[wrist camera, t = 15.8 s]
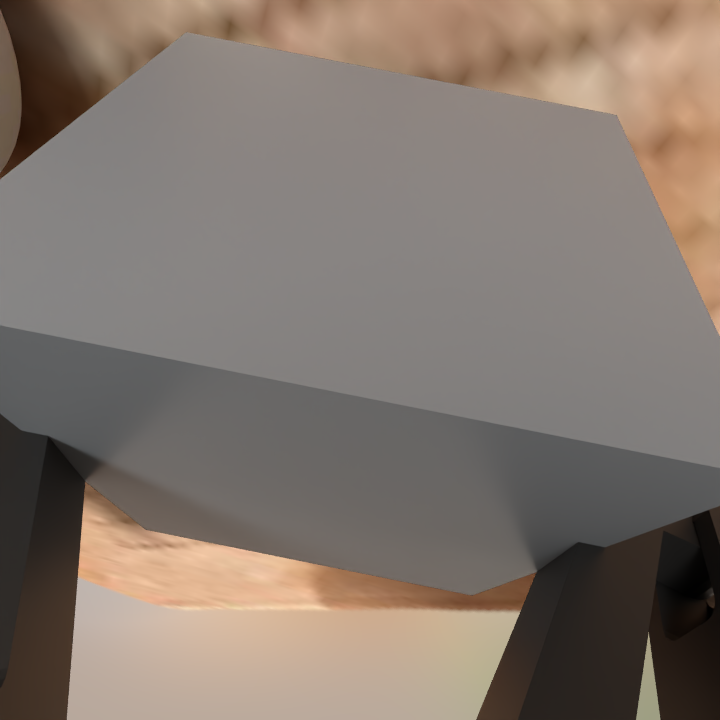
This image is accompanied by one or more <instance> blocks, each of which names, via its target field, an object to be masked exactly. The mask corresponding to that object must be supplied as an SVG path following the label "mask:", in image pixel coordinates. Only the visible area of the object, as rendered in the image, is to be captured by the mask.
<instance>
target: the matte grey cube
mask: <svg viewBox="0 0 720 720" xmlns="http://www.w3.org/2000/svg"><path fill="white" fill-rule="evenodd" d="M0 414H1V415H3V416H4V417H5V418H6V419H8V420H9V421H10V422H11V423H13V424H14V425H15V426H16V427H18V428H19V429H20V430H21V431H26V432H31V433H36V434H41V435H46V436H49V438H50V439H51V440H52V441H53V443H54V444H55V445H56V446H57V447H58V449H59V450H60V451H61V452H62V453H63V455H64V456H65V457H66V458H67V459H68V461H69V462H70V463H71V464H72V466H73V467H74V468H75V469H76V470H77V472H78V473H79V474H80V475H81V476H82V478H83V479H84V480H85V482H87V483H88V484H89V485H90V486H92V487H93V488H94V489H95V490H97V491H98V492H99V493H100V494H102V495H103V496H104V497H105V498H107V499H108V500H109V501H110V502H112V503H113V504H114V505H116V506H117V507H118V508H119V509H121V510H122V511H123V512H124V513H126V514H127V515H128V516H129V517H131V518H132V519H133V520H134V521H136V522H137V523H138V524H139V525H141V526H142V527H143V528H144V529H146V530H150V531H155V532H160V533H165V534H170V535H174V536H179V537H184V538H189V539H194V540H199V541H204V542H209V543H214V544H219V545H224V546H229V547H234V548H239V549H244V550H249V551H254V552H259V553H264V554H269V555H274V556H279V557H284V558H289V559H293V560H298V561H303V562H308V563H313V564H318V565H323V566H328V567H333V568H338V569H343V570H348V571H353V572H358V573H363V574H368V575H373V576H378V577H383V578H388V579H393V580H398V581H403V582H408V583H412V584H417V585H422V586H427V587H432V588H437V589H442V590H447V591H452V592H457V593H462V594H467V595H475V594H477V593H480V592H483V591H486V590H489V589H491V588H494V587H497V586H500V585H502V584H505V583H508V582H511V581H513V580H516V579H519V578H522V577H524V576H527V575H530V574H533V573H535V572H537V571H538V570H540V569H541V568H543V567H544V566H545V565H547V564H548V563H550V562H551V561H552V560H554V559H555V558H557V557H558V556H559V555H561V554H562V553H564V552H565V551H566V550H568V549H569V548H571V547H572V546H573V545H575V544H576V543H578V542H581V543H586V544H591V545H596V546H601V547H607V546H610V545H613V544H616V543H618V542H621V541H624V540H627V539H629V538H632V537H635V536H638V535H640V534H643V533H646V532H649V531H652V530H654V529H657V528H660V527H663V526H665V525H668V524H671V523H674V522H676V521H679V520H682V519H685V518H687V517H690V516H693V515H696V514H699V513H701V512H704V511H707V510H710V509H712V508H715V507H718V506H720V336H719V334H718V332H717V330H716V328H715V326H714V323H713V321H712V319H711V317H710V315H709V313H708V311H707V308H706V306H705V304H704V302H703V300H702V298H701V295H700V293H699V291H698V289H697V287H696V285H695V283H694V280H693V278H692V276H691V274H690V272H689V270H688V268H687V265H686V263H685V261H684V259H683V257H682V255H681V253H680V250H679V248H678V246H677V244H676V242H675V240H674V237H673V235H672V233H671V231H670V229H669V227H668V225H667V222H666V220H665V218H664V216H663V214H662V212H661V210H660V207H659V205H658V203H657V201H656V199H655V197H654V194H653V192H652V190H651V188H650V186H649V184H648V182H647V179H646V177H645V175H644V173H643V171H642V169H641V167H640V164H639V162H638V160H637V158H636V156H635V154H634V151H633V149H632V147H631V145H630V143H629V141H628V139H627V136H626V134H625V132H624V130H623V128H622V126H621V124H620V121H619V119H618V117H617V115H614V114H608V113H603V112H598V111H593V110H588V109H582V108H577V107H572V106H567V105H562V104H556V103H551V102H546V101H541V100H536V99H530V98H525V97H520V96H515V95H510V94H504V93H499V92H494V91H489V90H484V89H478V88H473V87H468V86H463V85H458V84H452V83H447V82H442V81H437V80H432V79H426V78H421V77H416V76H411V75H406V74H400V73H395V72H390V71H385V70H380V69H374V68H369V67H364V66H359V65H354V64H349V63H343V62H338V61H333V60H328V59H323V58H317V57H312V56H307V55H302V54H297V53H291V52H286V51H281V50H276V49H271V48H265V47H260V46H255V45H250V44H245V43H239V42H234V41H229V40H224V39H219V38H213V37H208V36H203V35H198V34H193V33H187V32H186V33H185V34H183V35H182V36H181V37H180V38H178V39H177V40H176V41H175V42H173V43H172V44H171V45H170V46H168V47H167V48H166V49H164V50H163V51H162V52H161V53H159V54H158V55H157V56H156V57H154V58H153V59H152V60H151V61H149V62H148V63H147V64H145V65H144V66H143V67H142V68H140V69H139V70H138V71H137V72H135V73H134V74H133V75H132V76H130V77H129V78H128V79H126V80H125V81H124V82H123V83H121V84H120V85H119V86H118V87H116V88H115V89H114V90H113V91H111V92H110V93H109V94H107V95H106V96H105V97H104V98H102V99H101V100H100V101H99V102H97V103H96V104H95V105H94V106H92V107H91V108H90V109H89V110H87V111H86V112H85V113H83V114H82V115H81V116H80V117H78V118H77V119H76V120H75V121H73V122H72V123H71V124H70V125H68V126H67V127H66V128H64V129H63V130H62V131H61V132H59V133H58V134H57V135H56V136H54V137H53V138H52V139H51V140H49V141H48V142H47V143H45V144H44V145H43V146H42V147H40V148H39V149H38V150H37V151H35V152H34V153H33V154H32V155H30V156H29V157H28V158H27V159H25V160H24V161H23V162H21V163H20V164H19V165H18V166H16V167H15V168H14V169H13V170H11V171H10V172H9V173H8V174H6V175H5V176H4V177H2V178H1V179H0Z"/></svg>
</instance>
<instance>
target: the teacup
mask: <svg viewBox="0 0 720 720" xmlns="http://www.w3.org/2000/svg"><path fill="white" fill-rule="evenodd" d="M21 109H22V102H21V83H20V78H19V72H18V66H17V60H16V56H15V52H14V49H13V45H12V41H11V37H10V34H9V31H8V28H7V26H6V23H5V20H4V18H3V15H2V12H1V10H0V172H1V171H2V169H3V168H4V167H5V165H6V164H7V162H8V160H9V158H10V156H11V154H12V152H13V149H14V147H15V145H16V141H17V137H18V133H19V129H20V122H21Z"/></svg>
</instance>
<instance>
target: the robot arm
mask: <svg viewBox="0 0 720 720" xmlns="http://www.w3.org/2000/svg"><path fill="white" fill-rule="evenodd" d="M84 489H85V480H84V479H83V478H82V476H81V475H80V474H79V473H78V472H77V470H76V469H75V468H74V467H73V466H72V464H71V463H70V462H69V461H68V459H67V458H66V457H65V456H64V455H63V453H62V452H61V451H60V450H59V449H58V447H57V446H56V445H55V444H54V443H53V441H52V440H51V439H50V438H49V436H46V435H41V434H36V433H31V432H26V431H21V430H20V429H19V428H18V427H16V426H15V425H14V424H13V423H11V422H10V421H9V420H8V419H6V418H5V417H4V416H3V415H1V414H0V720H67V707H68V695H69V682H70V669H71V655H72V643H73V630H74V617H75V605H76V591H77V578H78V566H79V553H80V540H81V527H82V515H83V502H84ZM648 632H649V637H650V644H651V652H652V659H653V667H654V673H655V681H656V689H657V696H658V704H659V711H660V718H661V720H720V506H718V507H715V508H712V509H710V510H707V511H704V512H701V513H699V514H696V515H693V516H690V517H687V518H685V519H682V520H679V521H676V522H674V523H671V524H668V525H665V526H663V527H660V528H657V529H654V530H652V531H649V532H646V533H643V534H640V535H638V536H635V537H632V538H629V539H627V540H624V541H621V542H618V543H616V544H613V545H610V546H607V547H601V546H596V545H591V544H586V543H581V542H578V543H576V544H575V545H573V546H572V547H571V548H569V549H568V550H566V551H565V552H564V553H562V554H561V555H559V556H558V557H557V558H555V559H554V560H552V561H551V562H550V563H548V564H547V565H545V566H544V567H543V568H541V569H540V570H538V571H537V573H536V575H535V578H534V580H533V583H532V585H531V587H530V590H529V592H528V595H527V597H526V600H525V602H524V604H523V607H522V609H521V612H520V614H519V617H518V619H517V622H516V624H515V627H514V629H513V631H512V634H511V636H510V639H509V641H508V644H507V646H506V648H505V651H504V653H503V656H502V658H501V661H500V663H499V665H498V668H497V670H496V673H495V675H494V678H493V680H492V682H491V685H490V687H489V690H488V692H487V695H486V697H485V700H484V702H483V705H482V707H481V709H480V712H479V714H478V717H477V719H476V720H636V715H637V708H638V701H639V695H640V688H641V680H642V674H643V667H644V660H645V652H646V646H647V639H648Z"/></svg>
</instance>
